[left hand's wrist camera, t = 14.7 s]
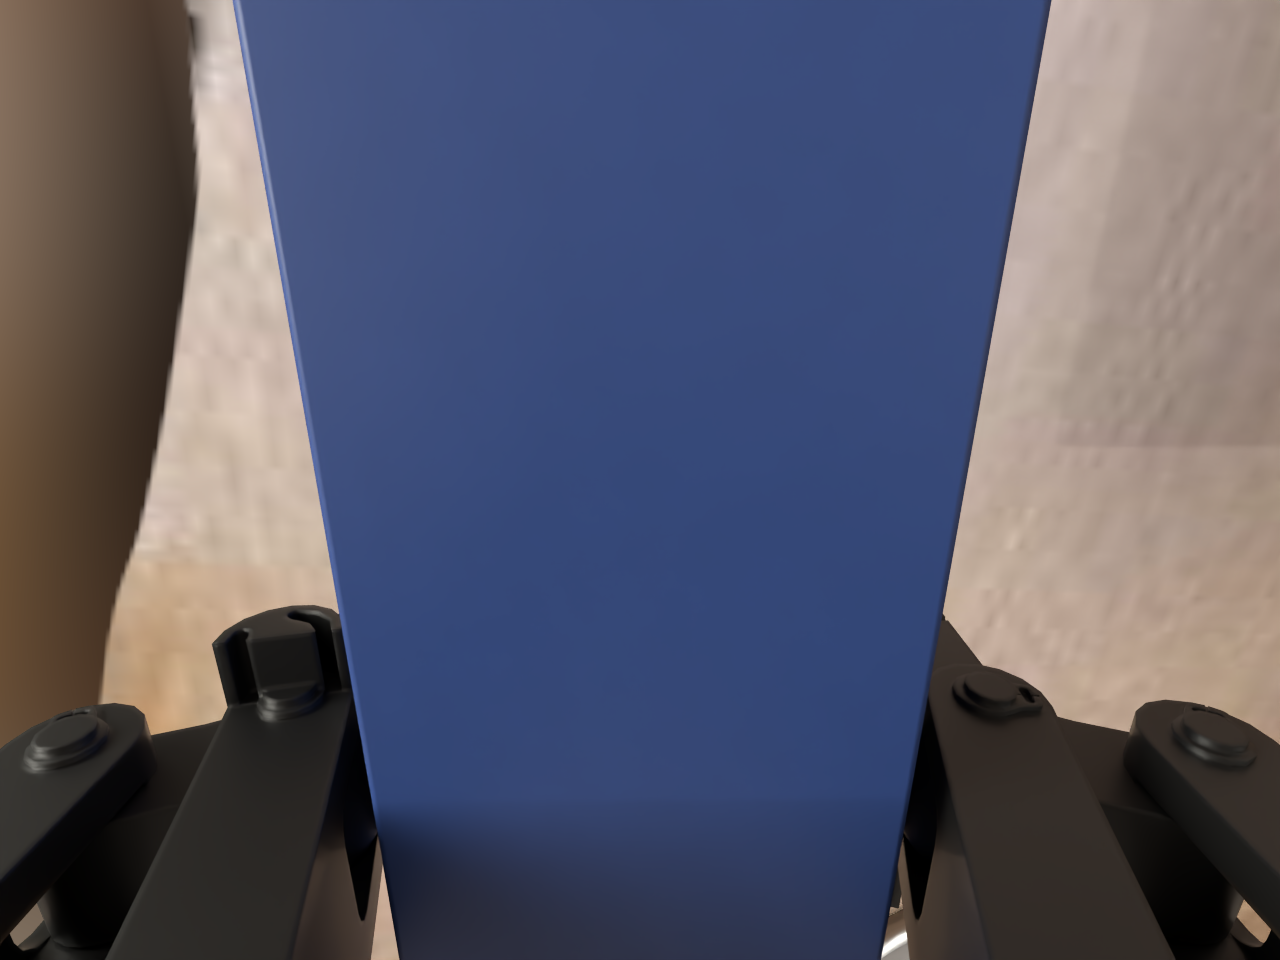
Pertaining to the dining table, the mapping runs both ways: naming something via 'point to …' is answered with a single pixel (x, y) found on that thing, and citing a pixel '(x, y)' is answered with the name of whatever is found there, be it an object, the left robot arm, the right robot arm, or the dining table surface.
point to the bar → (641, 438)
